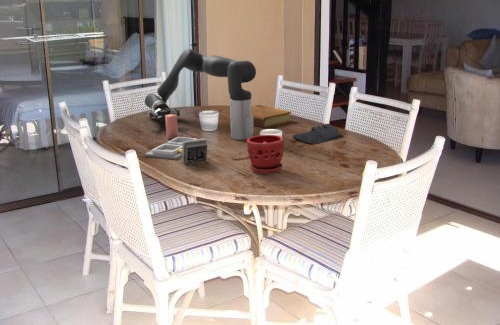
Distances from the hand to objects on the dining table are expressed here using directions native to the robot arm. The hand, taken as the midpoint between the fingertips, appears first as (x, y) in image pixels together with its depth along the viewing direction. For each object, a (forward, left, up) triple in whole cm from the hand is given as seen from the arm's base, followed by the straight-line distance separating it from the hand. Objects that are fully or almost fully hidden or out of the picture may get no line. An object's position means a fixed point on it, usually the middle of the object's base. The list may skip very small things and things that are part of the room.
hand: (166, 116), depth 261 cm
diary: (-33, -33, -8) cm, 48 cm away
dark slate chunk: (-68, -12, -8) cm, 69 cm away
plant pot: (-62, +39, -7) cm, 74 cm away
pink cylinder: (-7, +9, -7) cm, 14 cm away
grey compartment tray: (-18, +26, -7) cm, 32 cm away
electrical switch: (-34, +39, -7) cm, 52 cm away
